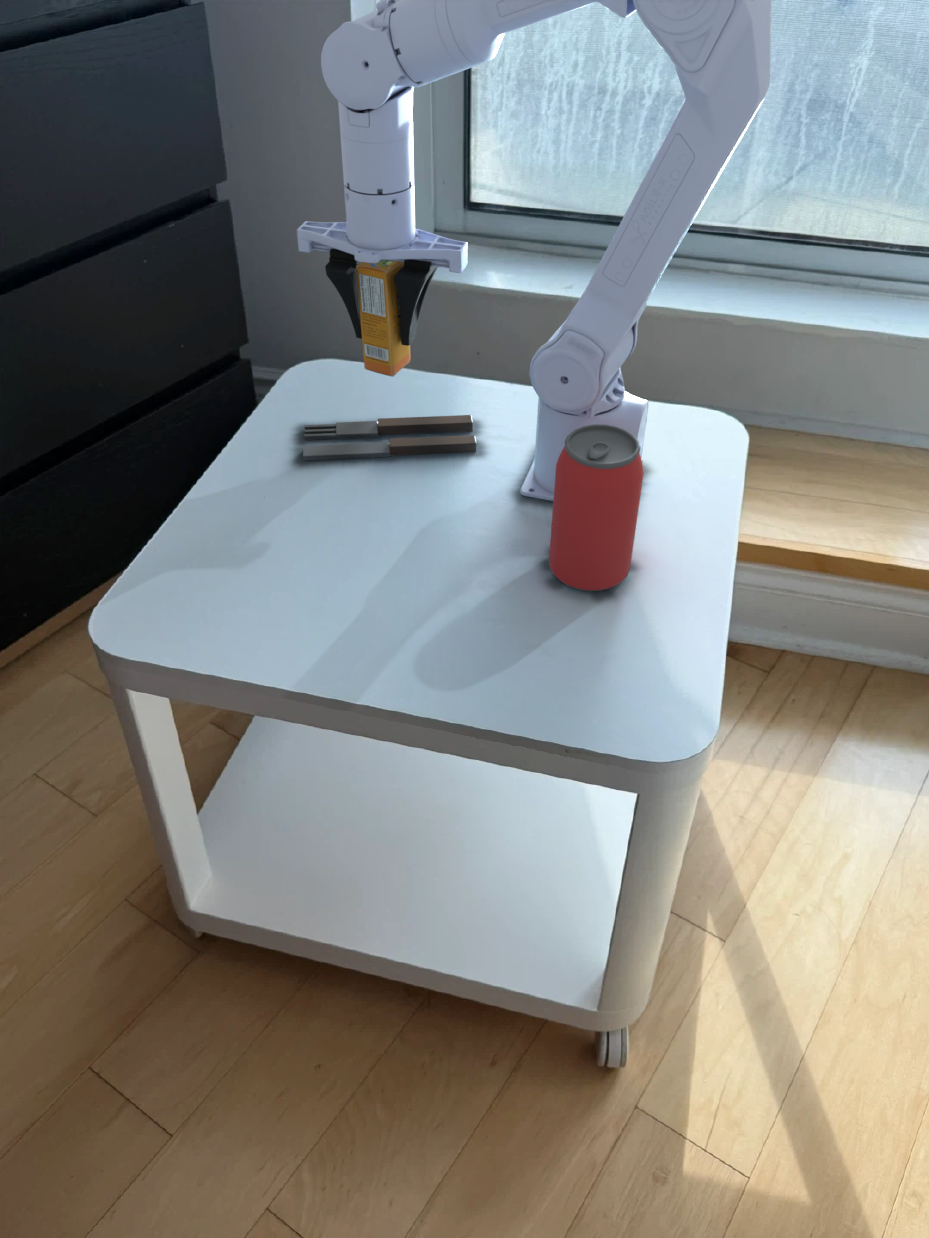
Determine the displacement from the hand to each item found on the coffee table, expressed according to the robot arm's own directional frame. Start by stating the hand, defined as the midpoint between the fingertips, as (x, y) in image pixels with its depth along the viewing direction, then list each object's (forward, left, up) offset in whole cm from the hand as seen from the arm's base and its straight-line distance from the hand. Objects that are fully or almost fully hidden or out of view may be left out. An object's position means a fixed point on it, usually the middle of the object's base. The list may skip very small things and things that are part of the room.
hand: (385, 336), depth 95 cm
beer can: (-23, +15, -10) cm, 29 cm away
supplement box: (0, 0, -3) cm, 3 cm away
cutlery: (-1, +2, -10) cm, 10 cm away
